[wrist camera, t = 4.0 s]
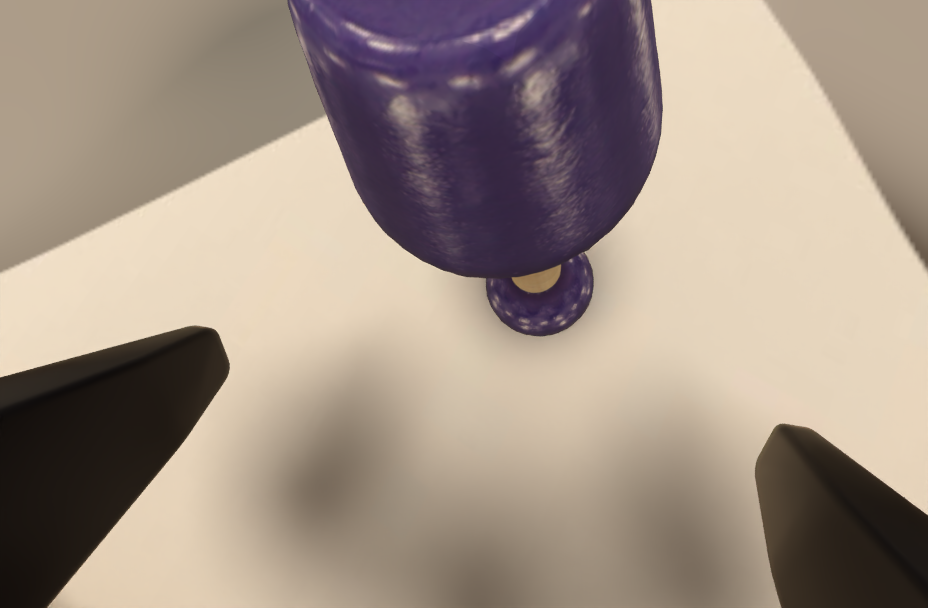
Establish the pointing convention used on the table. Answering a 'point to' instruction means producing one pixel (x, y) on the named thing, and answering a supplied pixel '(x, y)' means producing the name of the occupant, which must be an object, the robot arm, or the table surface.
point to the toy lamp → (493, 133)
